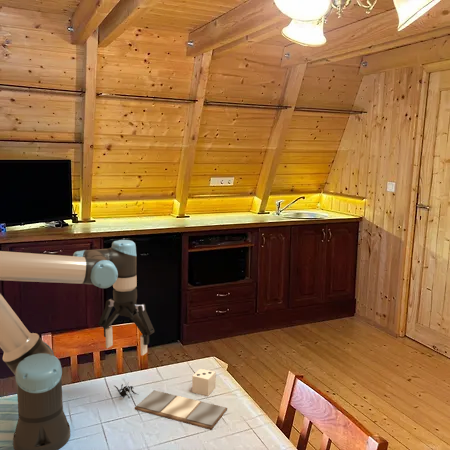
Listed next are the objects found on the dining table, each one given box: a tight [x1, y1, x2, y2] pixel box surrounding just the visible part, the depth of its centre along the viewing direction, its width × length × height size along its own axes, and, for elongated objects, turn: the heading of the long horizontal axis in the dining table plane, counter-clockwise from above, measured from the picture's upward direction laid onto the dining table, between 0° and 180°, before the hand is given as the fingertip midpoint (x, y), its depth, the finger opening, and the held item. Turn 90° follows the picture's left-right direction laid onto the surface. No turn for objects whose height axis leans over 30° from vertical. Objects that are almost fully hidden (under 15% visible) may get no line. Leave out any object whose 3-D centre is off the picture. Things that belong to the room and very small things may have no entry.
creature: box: [114, 383, 138, 399], centre depth 159 cm, size 8×5×8 cm
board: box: [134, 389, 228, 430], centre depth 150 cm, size 27×12×1 cm, turn 67°
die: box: [191, 368, 217, 397], centre depth 162 cm, size 6×6×6 cm
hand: (126, 350), depth 156 cm, fingers open, 13 cm apart
